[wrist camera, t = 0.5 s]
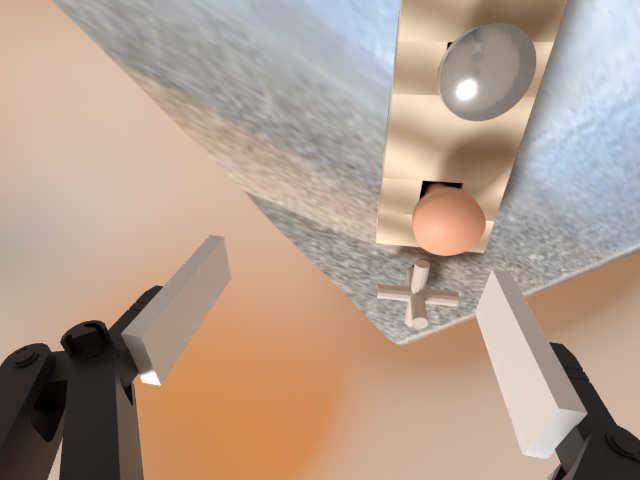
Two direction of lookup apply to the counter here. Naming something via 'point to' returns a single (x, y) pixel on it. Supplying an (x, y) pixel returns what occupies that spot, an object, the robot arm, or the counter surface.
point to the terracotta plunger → (447, 220)
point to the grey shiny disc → (486, 71)
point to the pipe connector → (417, 295)
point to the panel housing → (440, 123)
